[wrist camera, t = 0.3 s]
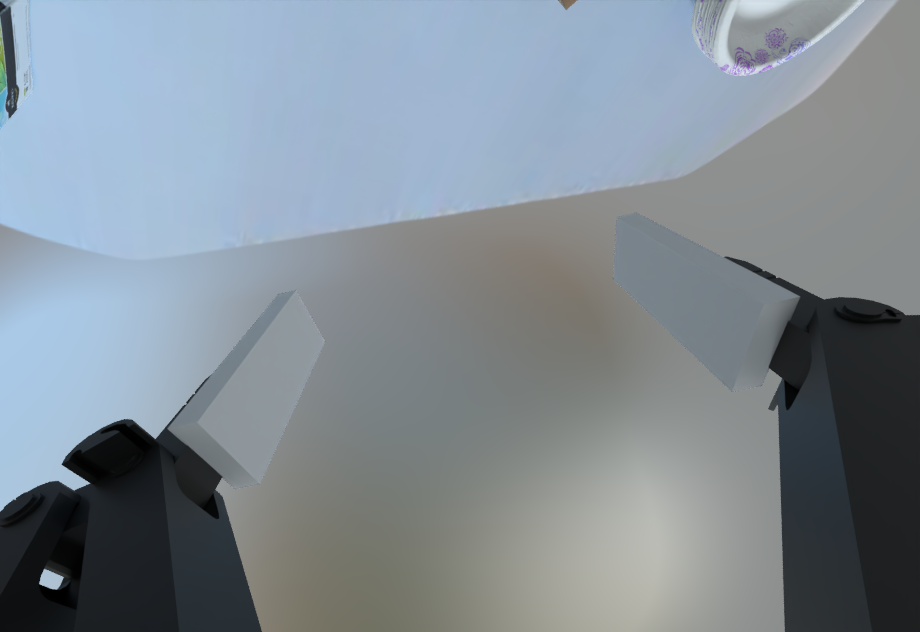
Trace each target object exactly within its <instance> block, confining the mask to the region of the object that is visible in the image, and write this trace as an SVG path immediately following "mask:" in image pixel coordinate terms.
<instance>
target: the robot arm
mask: <svg viewBox="0 0 920 632" xmlns="http://www.w3.org/2000/svg"><path fill="white" fill-rule="evenodd" d="M615 238H616V239H615V254H614V272H613V279H614V281H616V282H617V283H618V284H619V285H620V286H621V287H622V288H623V289H624V290H625V291H626V292H627V293H628V294H629V295H630V296H631V297H632V298H633V299H634V300H635V301H637V302H638V303H639V304H640V305H641V306H642V307H643V308H644V309H645V310H646V311H647V312H648V313H649V314H650V315H651V316H652V317H653V318H654V319H656V320H657V321H658V322H659V323H660V324H661V325H662V326H663V327H664V328H665V329H666V330H667V331H668V332H669V333H670V334H671V335H672V336H674V337H675V338H676V339H677V340H678V341H679V342H680V343H681V344H682V345H683V346H684V347H685V348H686V349H687V350H688V351H689V352H690V353H692V355H694V356H695V357H696V358H697V359H698V360H699V361H700V362H701V363H702V364H703V365H704V366H705V367H706V368H707V369H708V370H709V371H710V372H711V373H712V374H714V375H715V376H716V377H717V378H718V379H719V380H720V381H721V382H722V383H723V384H724V385H725V386H726V387H727V388H728V389H729V390H730V391H731V392H734V391H739V390H743V389H749V388H754V387H759V386H762V384H763V382H764V379H765V377H766V375H767V373H768V370H769V368H770V369H771V370H772V371H774V372H775V373H776V374H778V375H779V376H780V377H782V381H781V383H780V385H779V387H778V389H777V391H776V393H775V395H774V397H773V400H772V402H771V404H770V406H769V408H768V409H769V410H774V409H775V407H776V406H777V405H778V412H779V413H778V414H779V446H780V447H779V448H780V480H781V481H780V482H781V515H782V546H783V581H784V613H785V614H784V615H785V632H920V315H905V314H904V313H903V312H901V311H899V310H897V309H895V308H893V307H891V306H888V305H885V304H882V303H878V302H875V301H870V300H865V299H859V298H844V297H838V298H831V299H825V300H824V299H822V298H820V297H818V296H815V295H814V294H811V293H809V292H807V291H805V290H803V289H801V288H799V287H797V286H795V285H793V284H791V283H789V282H787V281H785V280H783V279H781V278H776V276H775V275H773V274H771V273H769V272H767V271H762V269H760V268H758V267H756V266H754V265H752V264H750V263H748V262H746V261H742V260H738V259H734V258H730V257H722V256H720V255H718V254H716V253H714V252H712V251H710V250H709V249H706V248H705V247H703V246H701V245H699V244H697V243H695V242H693V241H691V240H689V239H687V238H685V237H683V236H681V235H679V234H677V233H675V232H673V231H672V230H670V229H668V228H666V227H664V226H662V225H660V224H658V223H656V222H654V221H652V220H650V219H648V218H646V217H644V216H642V215H640V214H638V213H632V214H628V215H623V216H619V217H617V220H616V237H615ZM324 343H325V341H324V339H323V337H322V336H321V334H320V332H319V330H318V328H317V327H316V325H315V323H314V321H313V320H312V318H311V316H310V314H309V312H308V311H307V309H306V307H305V305H304V303H303V302H302V300H301V298H300V296H299V295H298V293H297V291H296V290H294V291H290V292H285V293H281V294H278V295H277V296H276V297H275V299H274V300H273V301H272V302H271V304H270V305H269V306H268V308H267V309H266V310H265V311H264V312H263V313H262V314H261V316H260V317H259V318H258V319H257V321H256V322H255V323H254V324H253V325H252V327H251V328H250V329H249V330H248V331H247V333H246V334H245V335H244V336H243V338H242V339H241V340H240V341H239V342H238V344H237V345H236V346H235V347H234V348H233V350H232V351H231V352H230V353H229V354H228V356H227V357H226V358H225V359H224V360H223V362H222V363H221V364H220V365H219V367H218V368H217V369H216V370H215V372H214V373H213V374H212V375H210V376H209V377H208V378H207V379H206V380H205V381H204V382H203V383H202V384H201V385H200V387H199V388H198V389H197V390H196V391H195V394H193V395H192V396H191V397H190V399H189V400H188V401H187V402H186V403H187V405H184V406H183V407H182V408H181V409H180V411H179V412H178V413H177V414H176V415H175V417H174V418H173V419H172V420H171V421H170V423H169V424H168V425H167V426H166V427H165V429H164V430H163V431H162V432H161V433H160V435H159V436H158V437H157V438H156V439H154V438H153V437H152V436H151V435H150V434H148V433H147V432H146V431H145V430H144V429H142V428H141V427H140V426H139V425H138V424H137V423H135V422H134V421H133V420H129V419H124V420H121V421H117V422H114V423H112V424H110V425H108V426H106V427H103V428H101V429H100V430H98V431H96V432H95V433H93V434H92V435H90V436H88V437H87V438H86V439H84V440H83V441H82V442H81V443H79V444H78V445H77V446H76V447H75V448H74V449H73V450H72V451H71V452H70V453H69V454H68V455H67V456H66V458H65V459H64V461H63V463H62V465H63V466H65V467H66V468H68V469H69V470H71V471H72V472H74V473H75V474H77V475H79V476H80V477H82V478H83V479H85V480H86V481H88V482H89V483H90V484H88V485H86V486H84V487H81V488H79V489H77V490H75V491H74V490H72V489H70V488H69V487H67V486H66V485H64V484H62V483H60V482H59V481H53V482H48V483H45V484H43V485H40V486H37V487H36V488H34V489H32V490H30V491H28V492H26V493H23V494H22V495H20V496H19V497H17V498H16V500H13V501H11V502H10V503H9V504H8V505H6V506H5V507H4V509H3V510H2V511H1V512H0V632H262V631H261V627H260V624H259V620H258V617H257V614H256V610H255V607H254V603H253V600H252V596H251V593H250V590H249V586H248V583H247V580H246V576H245V572H244V569H243V565H242V562H241V559H240V555H239V552H238V548H237V545H236V541H235V538H234V534H233V531H232V528H231V524H230V521H229V517H228V514H227V511H226V507H225V503H224V500H223V497H222V496H221V495H220V493H218V492H217V491H216V490H215V489H216V487H217V485H218V484H219V482H220V480H221V478H223V479H225V481H227V483H229V484H230V485H231V486H232V487H233V488H234V489H237V488H243V487H248V486H253V485H258V484H260V483H261V481H262V479H263V477H264V474H265V472H266V470H267V468H268V466H269V463H270V461H271V459H272V457H273V455H274V453H275V450H276V448H277V446H278V444H279V442H280V439H281V437H282V434H283V433H284V430H285V429H286V426H287V424H288V422H289V420H290V418H291V415H292V413H293V411H294V409H295V407H296V404H297V402H298V400H299V398H300V396H301V394H302V391H303V389H304V387H305V385H306V383H307V380H308V378H309V376H310V374H311V372H312V370H313V367H314V365H315V363H316V361H317V359H318V356H319V354H320V352H321V350H322V348H323V345H324ZM44 569H47V570H49V571H51V572H54V573H56V574H58V575H61V576H63V577H64V578H63V581H62V583H61V585H60V587H59V588H58V590H55V589H50V588H47V587H45V586H42V585H40V584H39V581H40V577H41V574H42V572H43V570H44Z"/></svg>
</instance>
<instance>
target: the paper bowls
mask: <svg viewBox="0 0 920 632" xmlns="http://www.w3.org/2000/svg"><path fill="white" fill-rule="evenodd" d="M863 1H864V0H696V1H695V5H694V9H693V16H692V24H691V27H692V33H693V38H694V40H695V42H696V43H697V45H698V46H699V48H700V49H701V50H702V52H703V53H704V54H705V55H706V56H707V57H709V58H710V59H711V60H712V61H713V62H714V63H715V64H716V65H717V66H718V67H719V68H720V69H721V70H722V71H724V72H725V73H727V74H730V75H737V76H744V75H751V74H756V73H760V72H764V71H766V70H769V69H771V68H774V67H776V66H778V65H780V64H782V63H784V62H786V61H788V60H790V59H791V58H793V57H795V56H796V55H798V54H800V53H801V52H803V51H805V50H806V49H807V48H809V47H810V46H812V45H813V44H814V43H816V42H817V41H819V40H820V39H821V38H823V37H824V36H825V35H826V34H828V33H829V32H830V31H832V30H833V29H834V28H835V27H836V26H837V25H839V24H840V23H841V22H842V21H843V20H844V19H845V18H847V17H848V16H849V15H850V14H851V13H852V12H853V11H854V10H855V9H856V8H857V7H858V6H859V5H860V4H861V3H862V2H863Z"/></svg>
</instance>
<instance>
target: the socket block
mask: <svg viewBox="0 0 920 632" xmlns="http://www.w3.org/2000/svg"><path fill="white" fill-rule="evenodd" d="M558 1H559V2H560V3H561V4H562V5H563V7H564V8H565V9H566V10H567V9H568V8H569V7H570V6H571V5H572V4H573V3H575V2H576V1H577V0H558Z"/></svg>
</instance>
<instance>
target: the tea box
mask: <svg viewBox="0 0 920 632" xmlns="http://www.w3.org/2000/svg"><path fill="white" fill-rule="evenodd" d="M32 91H33V77H32V69H31V49H30V23H29V0H0V129H1V127H2V126H3V125H4V124H5V123H6V122H7V120H8V119H9V118H10V117H11V116H12V115H13V114H14V112H15V111H16V110H17V109H18V108H19V107H20V106H21V105H22V103H23V102H24V101H25V100H26V99H27V97H28V96H29V95H30V94H31V93H32Z"/></svg>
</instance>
